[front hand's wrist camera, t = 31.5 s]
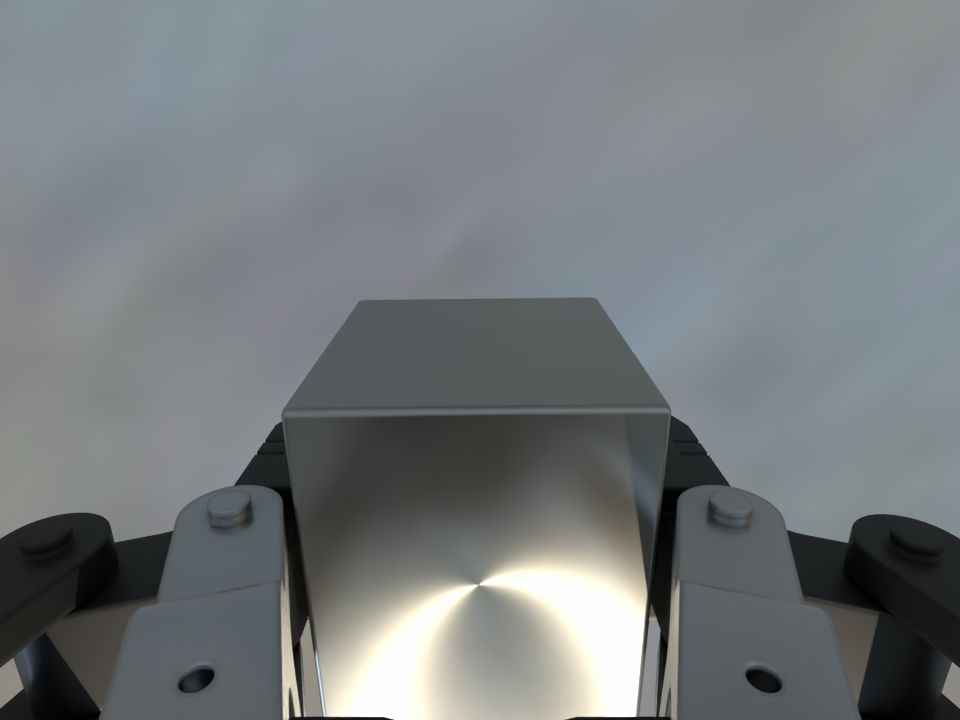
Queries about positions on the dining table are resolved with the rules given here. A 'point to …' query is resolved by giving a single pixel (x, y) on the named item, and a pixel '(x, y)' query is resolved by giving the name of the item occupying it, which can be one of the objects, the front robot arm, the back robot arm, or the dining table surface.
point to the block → (478, 510)
